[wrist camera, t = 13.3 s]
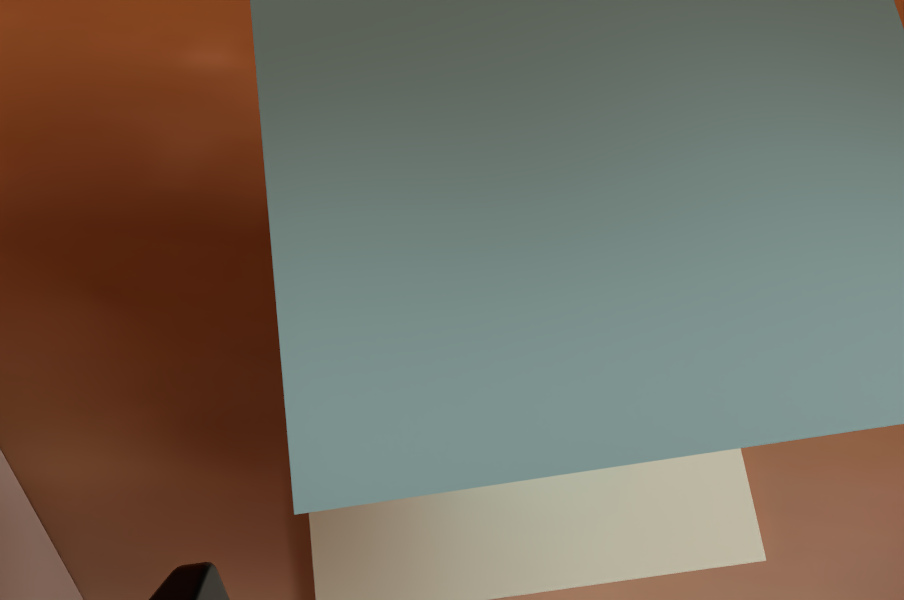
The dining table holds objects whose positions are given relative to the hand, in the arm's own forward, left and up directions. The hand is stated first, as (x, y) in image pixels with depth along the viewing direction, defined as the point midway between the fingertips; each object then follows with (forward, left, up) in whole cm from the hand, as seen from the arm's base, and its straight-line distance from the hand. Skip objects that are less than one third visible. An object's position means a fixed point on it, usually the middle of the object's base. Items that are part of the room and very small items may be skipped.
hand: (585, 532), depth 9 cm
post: (+3, +2, -8) cm, 8 cm away
